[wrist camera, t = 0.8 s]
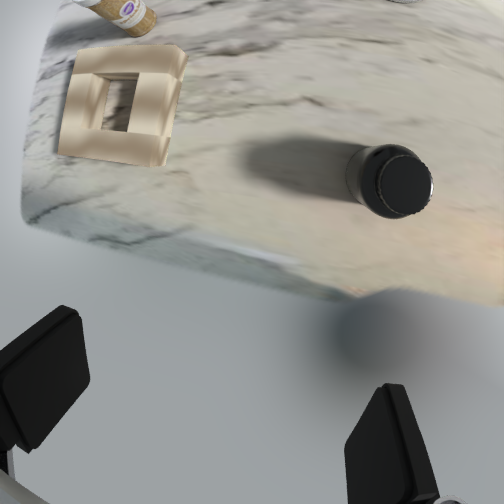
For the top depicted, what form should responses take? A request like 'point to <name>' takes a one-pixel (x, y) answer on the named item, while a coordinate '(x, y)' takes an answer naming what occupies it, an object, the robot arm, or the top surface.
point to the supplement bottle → (389, 180)
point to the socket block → (143, 109)
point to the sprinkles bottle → (123, 14)
